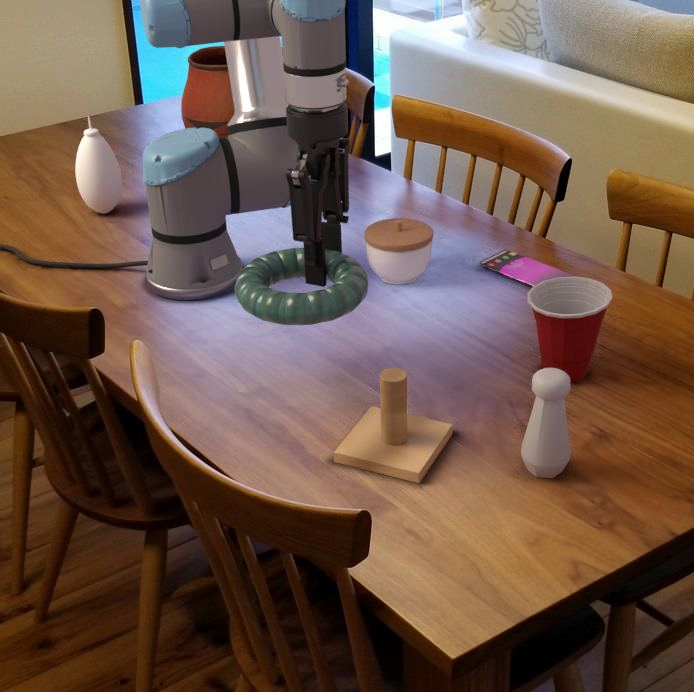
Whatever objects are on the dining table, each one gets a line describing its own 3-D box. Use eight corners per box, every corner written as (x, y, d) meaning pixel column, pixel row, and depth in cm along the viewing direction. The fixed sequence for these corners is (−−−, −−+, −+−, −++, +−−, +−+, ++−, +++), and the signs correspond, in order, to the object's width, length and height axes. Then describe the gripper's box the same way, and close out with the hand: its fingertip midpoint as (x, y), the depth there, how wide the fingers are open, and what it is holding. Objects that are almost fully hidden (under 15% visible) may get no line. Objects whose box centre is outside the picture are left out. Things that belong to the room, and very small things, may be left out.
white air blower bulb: (73, 214, 197) (56, 118, 187) (105, 200, 202) (89, 106, 192) (103, 223, 193) (87, 125, 183) (134, 208, 198) (120, 112, 188)
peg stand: (334, 462, 129) (330, 387, 123) (371, 415, 137) (369, 344, 131) (419, 483, 125) (419, 407, 119) (452, 434, 133) (454, 361, 127)
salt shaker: (533, 448, 130) (540, 355, 123) (577, 463, 127) (586, 369, 120) (511, 472, 126) (516, 378, 119) (555, 488, 123) (564, 392, 116)
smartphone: (506, 253, 176) (506, 248, 176) (582, 280, 167) (582, 275, 167) (477, 267, 172) (478, 262, 172) (554, 296, 163) (554, 291, 163)
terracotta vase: (248, 212, 195) (236, 74, 182) (168, 193, 204) (151, 60, 191) (308, 178, 208) (301, 48, 195) (230, 162, 217) (219, 36, 204)
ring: (211, 316, 135) (208, 287, 133) (276, 261, 148) (274, 234, 146) (332, 341, 129) (331, 312, 127) (389, 282, 142) (388, 254, 140)
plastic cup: (514, 355, 149) (518, 277, 142) (591, 349, 149) (599, 271, 143) (532, 396, 140) (537, 315, 133) (613, 390, 140) (623, 309, 134)
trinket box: (427, 293, 165) (428, 237, 160) (359, 289, 167) (358, 233, 162) (437, 263, 174) (437, 209, 169) (372, 259, 176) (371, 206, 171)
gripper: (311, 129, 123) (320, 309, 135) (373, 86, 135) (376, 254, 148) (254, 121, 125) (268, 299, 138) (320, 80, 138) (327, 246, 151)
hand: (324, 275), depth 143 cm, fingers closed on ring, 4 cm apart
